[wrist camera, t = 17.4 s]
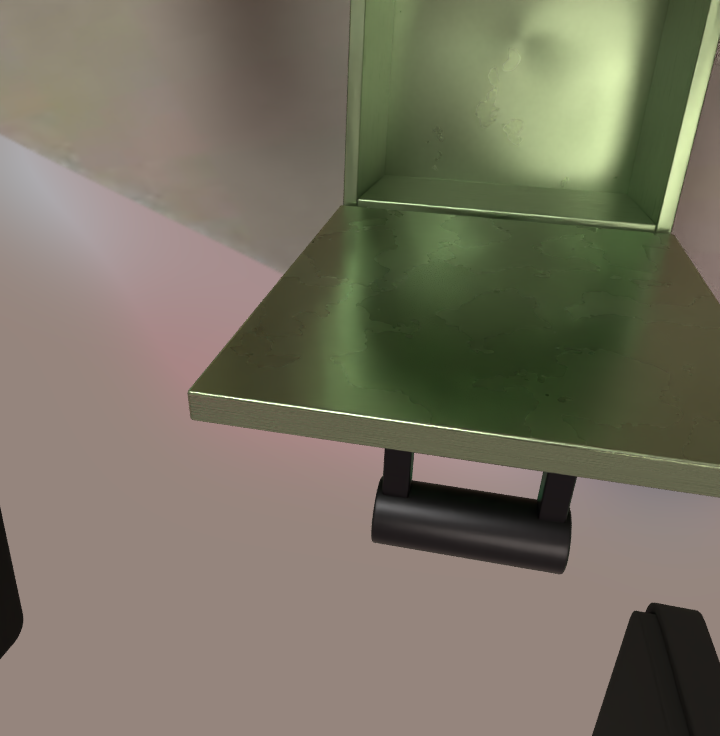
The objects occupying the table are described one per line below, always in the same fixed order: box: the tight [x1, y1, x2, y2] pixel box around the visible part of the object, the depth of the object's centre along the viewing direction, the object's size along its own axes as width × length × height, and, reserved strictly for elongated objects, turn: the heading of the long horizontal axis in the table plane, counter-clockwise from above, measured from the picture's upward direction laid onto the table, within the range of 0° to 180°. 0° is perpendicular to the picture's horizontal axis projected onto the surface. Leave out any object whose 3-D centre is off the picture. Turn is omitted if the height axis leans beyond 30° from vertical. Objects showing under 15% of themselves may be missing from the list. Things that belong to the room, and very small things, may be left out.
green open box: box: [343, 0, 720, 234], centre depth 27 cm, size 14×13×8 cm
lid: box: [188, 205, 720, 574], centre depth 21 cm, size 15×13×5 cm
